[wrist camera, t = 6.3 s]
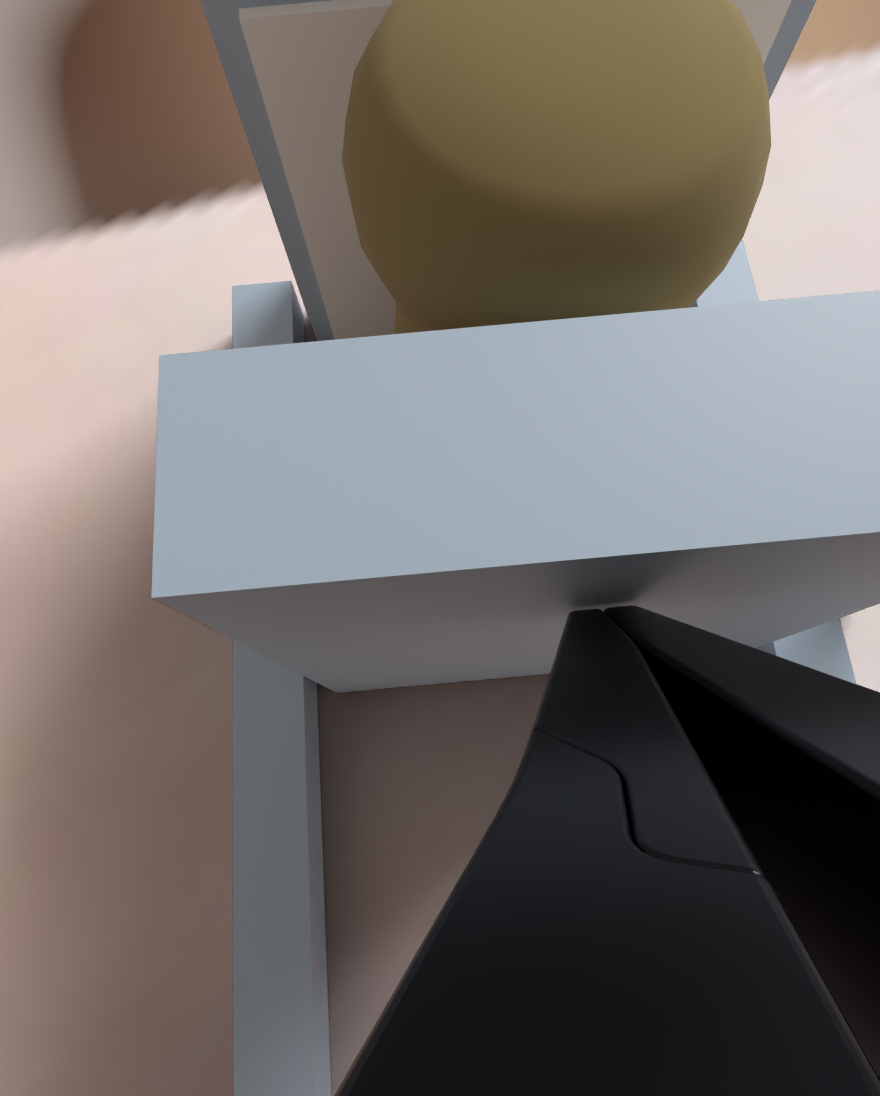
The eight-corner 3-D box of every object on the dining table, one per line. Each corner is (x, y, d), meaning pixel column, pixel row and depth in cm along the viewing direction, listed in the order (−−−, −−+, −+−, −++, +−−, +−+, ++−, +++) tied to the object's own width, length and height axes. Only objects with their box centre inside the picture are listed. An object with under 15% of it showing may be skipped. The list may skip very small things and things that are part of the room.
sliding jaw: (730, 657, 16) (1144, 508, 6) (336, 692, 16) (151, 596, 6) (706, 544, 17) (1043, 257, 7) (331, 578, 17) (159, 337, 7)
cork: (673, 472, 18) (996, 45, 7) (490, 624, 17) (546, 394, 6) (514, 314, 19) (583, -237, 8) (337, 446, 18) (166, 7, 7)
